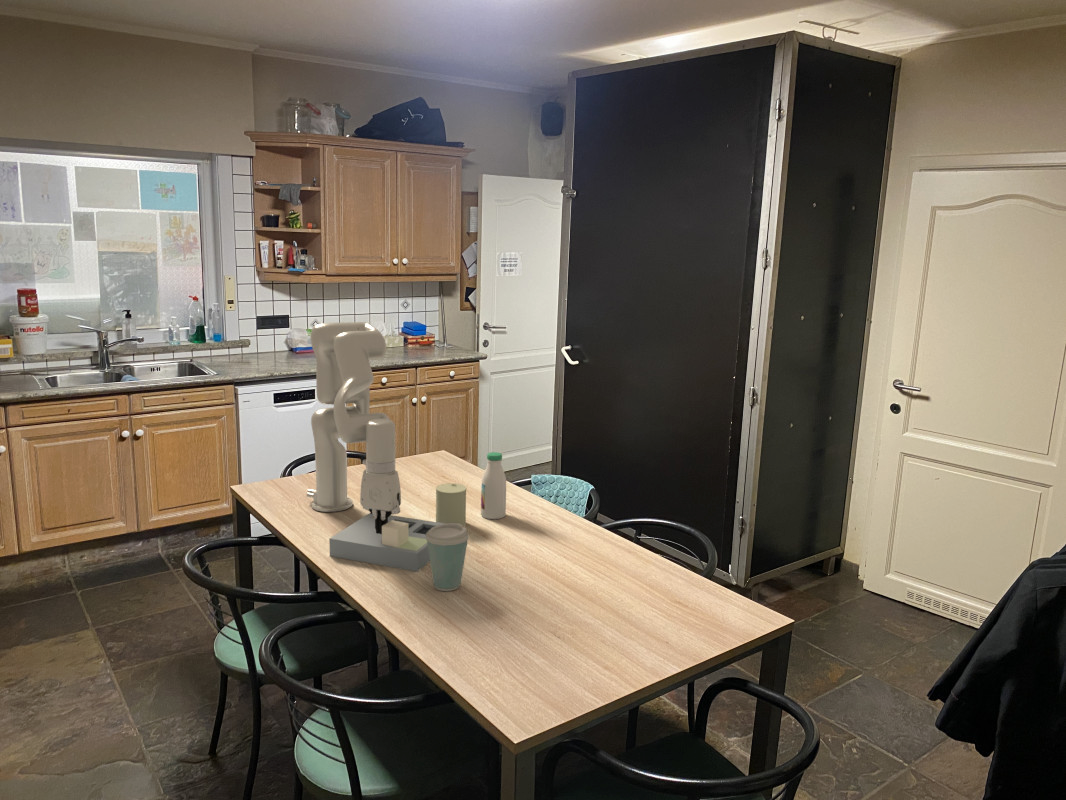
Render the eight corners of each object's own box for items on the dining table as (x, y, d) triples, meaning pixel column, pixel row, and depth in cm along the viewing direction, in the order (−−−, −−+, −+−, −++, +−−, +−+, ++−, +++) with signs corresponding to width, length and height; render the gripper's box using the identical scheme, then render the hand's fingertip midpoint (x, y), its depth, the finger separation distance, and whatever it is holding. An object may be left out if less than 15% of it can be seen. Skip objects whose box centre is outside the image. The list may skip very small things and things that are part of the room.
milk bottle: (509, 514, 244) (511, 452, 240) (498, 521, 237) (500, 458, 233) (488, 509, 247) (489, 449, 243) (476, 517, 240) (477, 454, 236)
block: (381, 544, 204) (381, 526, 203) (392, 537, 209) (392, 520, 208) (398, 547, 202) (398, 529, 201) (408, 541, 207) (408, 523, 206)
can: (468, 520, 238) (469, 482, 235) (463, 531, 229) (463, 492, 226) (439, 518, 239) (439, 480, 236) (432, 528, 230) (432, 490, 227)
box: (329, 556, 208) (329, 538, 207) (371, 528, 229) (371, 512, 227) (417, 571, 200) (417, 553, 199) (452, 541, 221) (452, 524, 220)
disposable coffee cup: (433, 598, 186) (434, 539, 183) (418, 580, 195) (419, 524, 192) (474, 590, 191) (475, 533, 188) (458, 573, 200) (458, 518, 197)
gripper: (348, 466, 203) (349, 532, 207) (399, 473, 198) (399, 541, 202) (363, 459, 210) (364, 523, 214) (413, 465, 205) (413, 531, 209)
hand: (381, 532), depth 208 cm, fingers closed
